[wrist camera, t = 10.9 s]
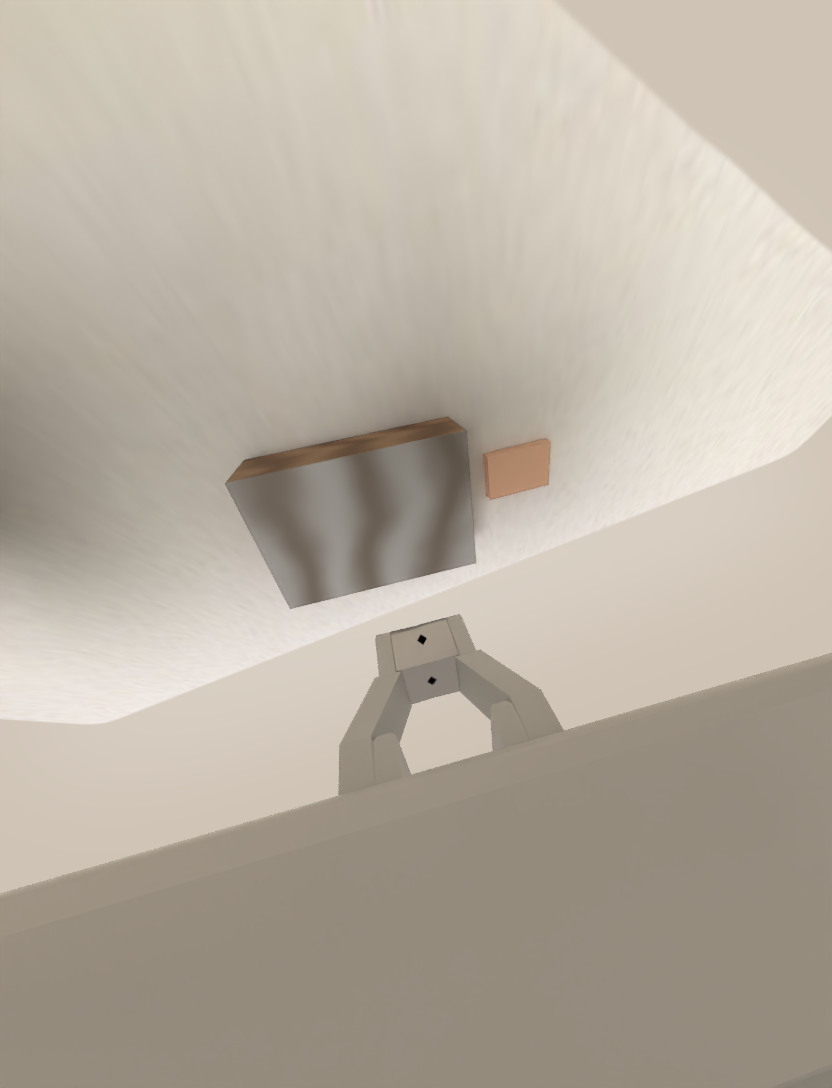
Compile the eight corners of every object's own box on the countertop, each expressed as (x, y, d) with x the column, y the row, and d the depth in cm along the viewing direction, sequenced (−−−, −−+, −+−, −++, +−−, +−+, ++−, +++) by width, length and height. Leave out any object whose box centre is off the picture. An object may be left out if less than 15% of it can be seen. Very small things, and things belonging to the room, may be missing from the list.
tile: (548, 484, 37) (541, 479, 39) (550, 441, 34) (542, 437, 36) (490, 499, 37) (484, 494, 38) (487, 457, 34) (481, 452, 35)
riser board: (297, 574, 39) (290, 608, 34) (244, 460, 31) (224, 483, 26) (459, 535, 40) (476, 563, 35) (447, 416, 32) (466, 430, 27)
